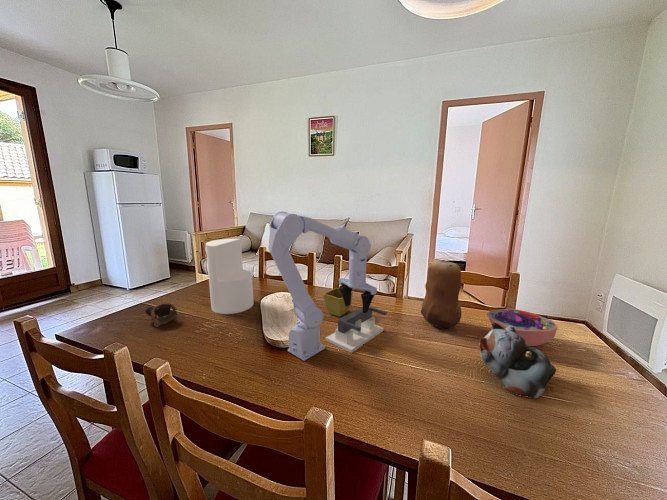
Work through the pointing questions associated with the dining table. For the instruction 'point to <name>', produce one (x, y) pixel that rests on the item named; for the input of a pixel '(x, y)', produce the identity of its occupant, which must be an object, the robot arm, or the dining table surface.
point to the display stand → (355, 335)
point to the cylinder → (228, 277)
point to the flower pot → (335, 302)
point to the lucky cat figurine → (515, 361)
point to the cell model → (525, 325)
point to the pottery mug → (161, 313)
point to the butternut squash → (442, 294)
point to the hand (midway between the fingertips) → (356, 308)
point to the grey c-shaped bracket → (349, 320)
